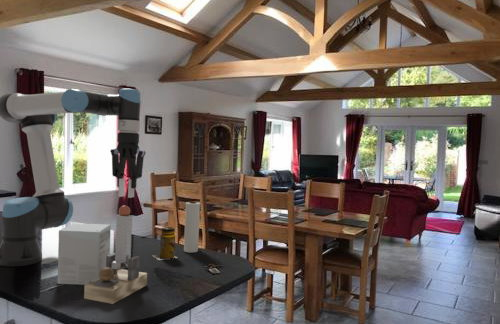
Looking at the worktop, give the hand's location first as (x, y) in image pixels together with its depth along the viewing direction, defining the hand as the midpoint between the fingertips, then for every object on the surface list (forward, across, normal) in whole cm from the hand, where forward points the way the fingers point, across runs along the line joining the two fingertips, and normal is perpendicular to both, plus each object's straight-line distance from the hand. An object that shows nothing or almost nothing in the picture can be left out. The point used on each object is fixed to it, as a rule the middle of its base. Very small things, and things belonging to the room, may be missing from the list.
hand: (126, 196), depth 155 cm
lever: (+19, +12, -19) cm, 30 cm away
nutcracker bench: (+27, +12, -21) cm, 36 cm away
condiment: (+27, +5, +21) cm, 34 cm away
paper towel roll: (+27, +11, +35) cm, 45 cm away
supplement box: (+27, -5, -15) cm, 31 cm away
